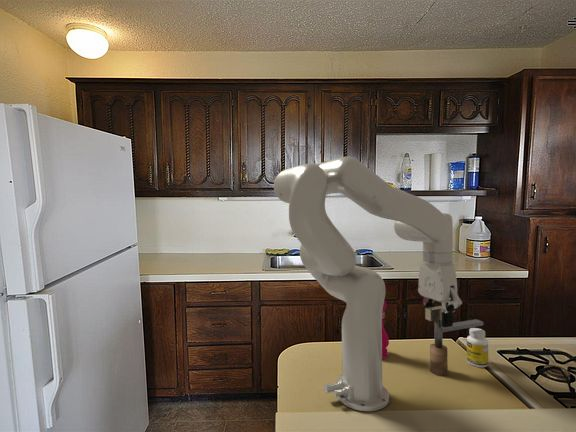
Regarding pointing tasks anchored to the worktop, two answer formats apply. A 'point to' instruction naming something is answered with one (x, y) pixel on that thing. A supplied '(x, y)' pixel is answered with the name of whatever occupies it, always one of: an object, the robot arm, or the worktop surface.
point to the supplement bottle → (477, 348)
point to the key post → (438, 360)
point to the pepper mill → (384, 335)
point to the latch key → (436, 316)
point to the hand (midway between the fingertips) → (438, 321)
